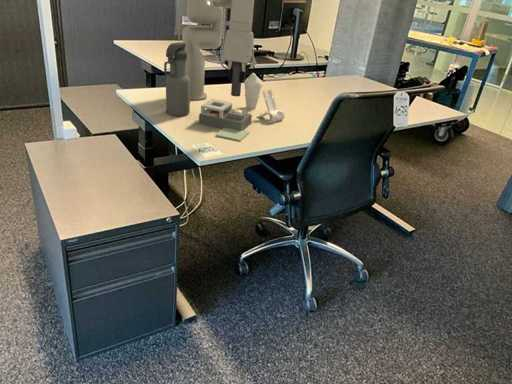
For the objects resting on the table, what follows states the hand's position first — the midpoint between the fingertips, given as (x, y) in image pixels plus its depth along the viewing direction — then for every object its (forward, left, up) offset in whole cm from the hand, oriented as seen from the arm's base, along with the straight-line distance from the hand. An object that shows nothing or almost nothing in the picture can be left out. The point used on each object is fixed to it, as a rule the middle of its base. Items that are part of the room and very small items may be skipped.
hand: (236, 80), depth 152 cm
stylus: (0, 0, -5) cm, 5 cm away
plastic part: (+7, +27, -21) cm, 35 cm away
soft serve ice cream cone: (-5, +37, -21) cm, 43 cm away
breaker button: (-11, +10, -20) cm, 25 cm away
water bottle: (-29, +11, -21) cm, 37 cm away
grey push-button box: (-7, +10, -21) cm, 24 cm away
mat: (0, 0, -21) cm, 21 cm away
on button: (-2, +10, -16) cm, 19 cm away
